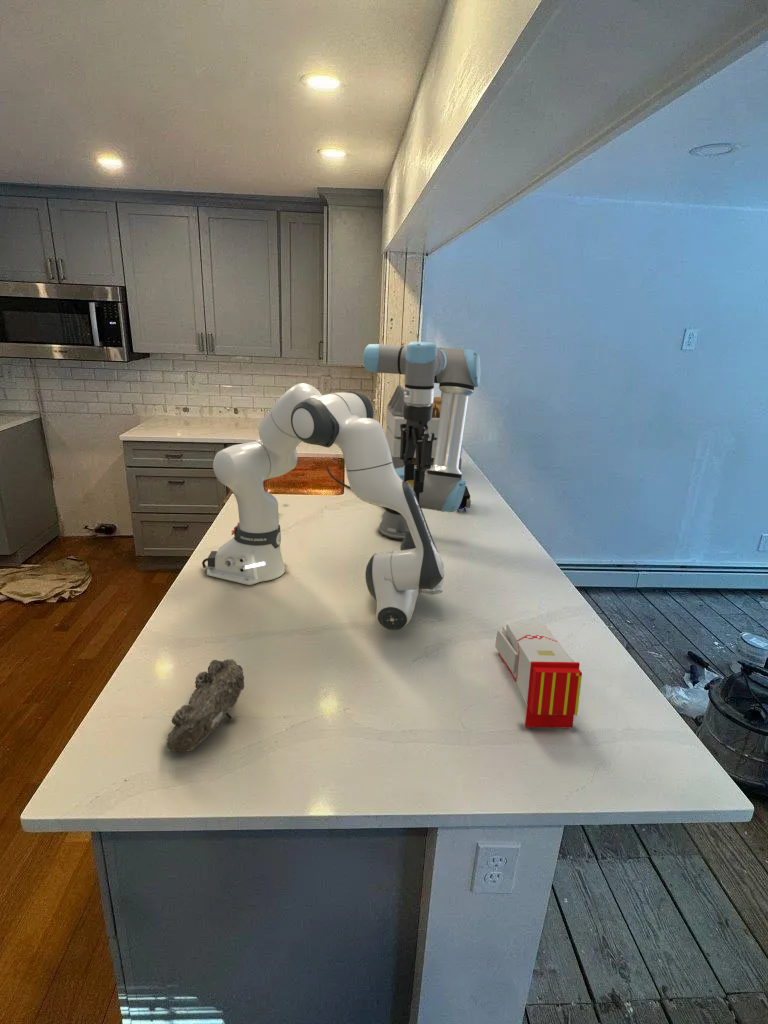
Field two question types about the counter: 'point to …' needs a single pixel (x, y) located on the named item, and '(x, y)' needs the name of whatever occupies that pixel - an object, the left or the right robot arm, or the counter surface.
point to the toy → (541, 674)
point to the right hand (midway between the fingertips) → (413, 489)
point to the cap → (411, 483)
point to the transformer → (396, 418)
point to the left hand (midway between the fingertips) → (409, 566)
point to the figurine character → (465, 500)
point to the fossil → (206, 705)
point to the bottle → (407, 541)
